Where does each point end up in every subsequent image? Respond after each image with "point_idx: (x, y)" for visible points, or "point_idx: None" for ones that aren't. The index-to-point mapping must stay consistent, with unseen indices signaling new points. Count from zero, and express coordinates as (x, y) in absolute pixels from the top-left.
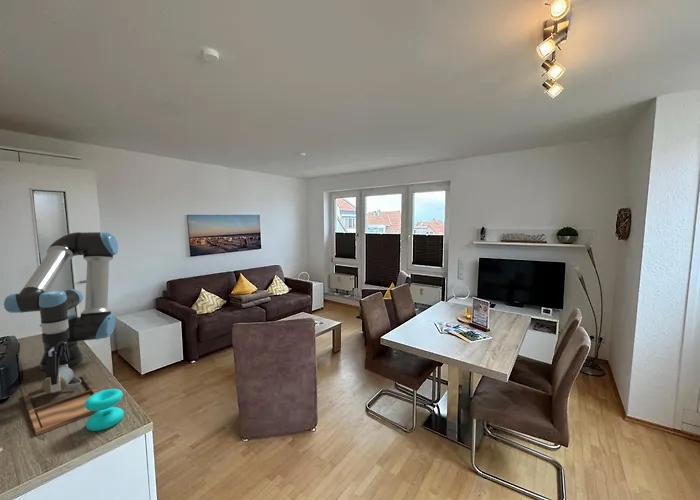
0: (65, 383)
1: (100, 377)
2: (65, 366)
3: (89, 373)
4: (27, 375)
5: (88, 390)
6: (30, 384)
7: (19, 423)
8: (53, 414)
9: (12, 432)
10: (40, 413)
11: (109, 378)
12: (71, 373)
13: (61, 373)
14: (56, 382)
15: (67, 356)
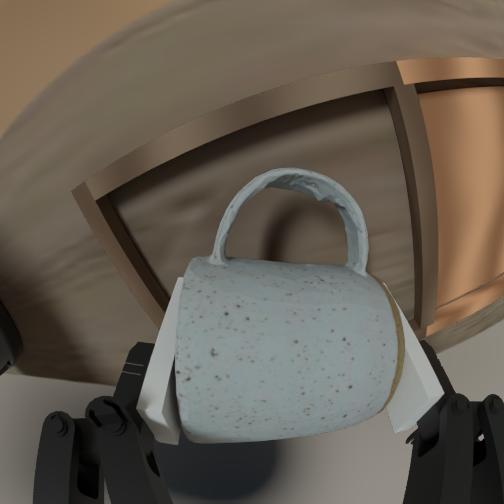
0: (382, 285)
1: (119, 73)
2: (168, 405)
3: (37, 178)
4: (51, 377)
5: (400, 103)
6: (109, 375)
7: (459, 325)
8: (498, 243)
9: (490, 319)
10: (456, 290)
11: (177, 3)
12: (239, 298)
13: (345, 390)
14: (426, 350)
15: (72, 478)
